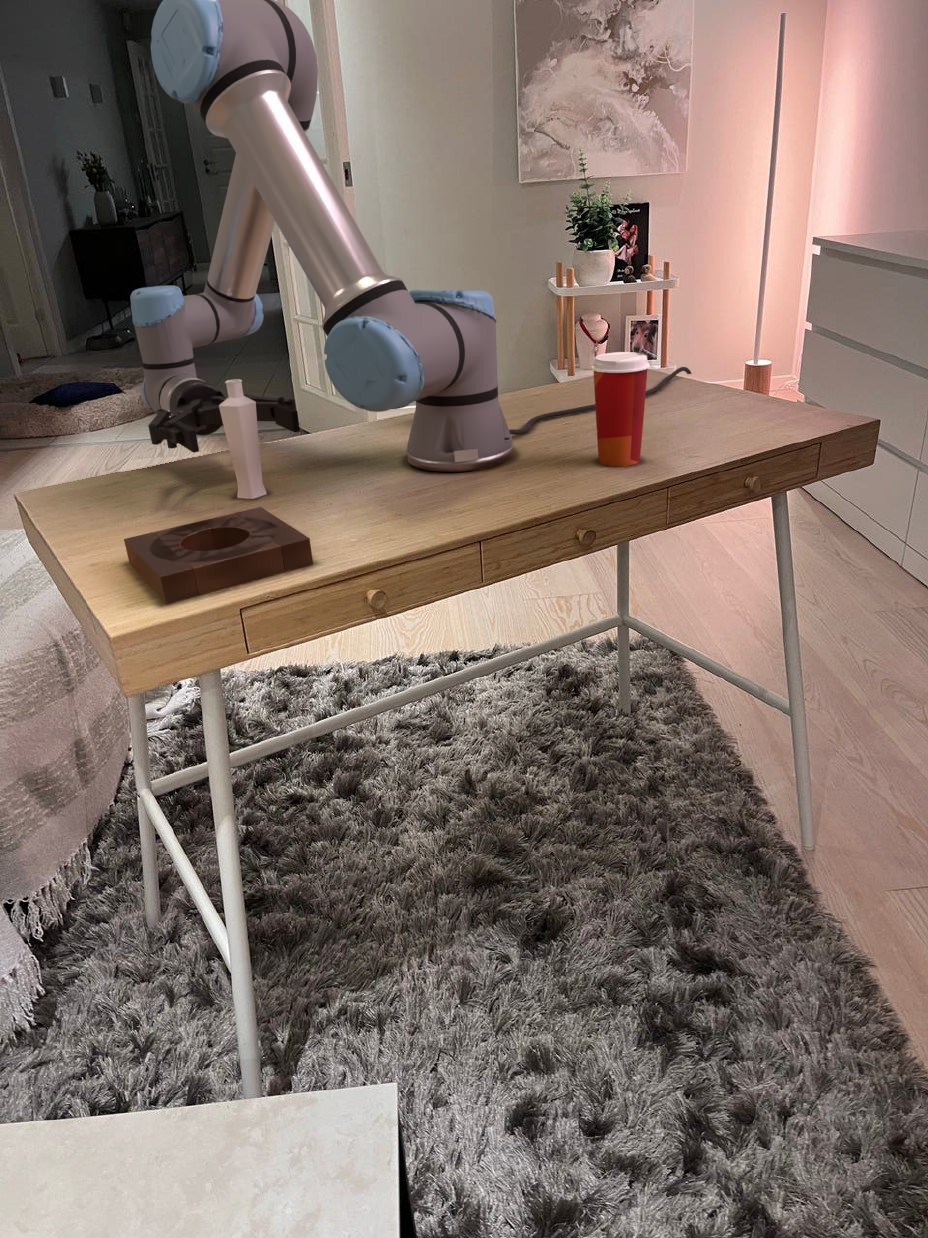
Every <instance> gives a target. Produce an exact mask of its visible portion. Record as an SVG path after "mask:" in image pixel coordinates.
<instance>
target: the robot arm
mask: <svg viewBox="0 0 928 1238" xmlns="http://www.w3.org/2000/svg"><path fill="white" fill-rule="evenodd" d="M150 36H151V41H150V55H151V62H152V66H153V70H154V73H155V77H156V78H157V81H158V83H159V85H160V86H161V88H162V89H163V90H164V92H165V93H166V94H167V95H168V96H169V97H170V98H172V99H174V100H175V101H178V102H180V103H182V104H185V105H186V104H193V105H194V107H195V108H196V111H197V112H198V114H199V115H200V117H201V119H202V121H203V122H204V124H205V126H206V127H207V129H208V131H209V132H210V133H211V134H212V135H214V136H217V137H220V138H223V139H228V141H229V143H230V145H231V147H232V148H233V150H234V152H235V156H234V161H233V165H232V169H231V174H230V177H229V183H228V187H227V190H226V191H227V192H226V196H225V199H224V204H223V208H222V213H221V217H220V221H219V226H218V231H217V235H216V239H215V243H214V248H213V253H212V257H211V261H210V265H209V269H208V274H207V278H206V282H205V285H204V290H203V292H200V293H195V294H189V295H184V294H183V293H182V290H181V288H180V287H179V286H177V285H155V286H146V287H140V288H136V289H134V290H133V291H132V292H131V294H130V298H129V299H130V300H129V301H130V309H131V310H130V311H131V316H132V324H133V326H134V330H135V334H136V339H137V343H138V347H139V351H140V356H141V360H142V371H143V376H144V378H143V381H142V384H141V396H142V398H143V401H144V402H145V404H146V405H147V406H148V407H149V409H150V410H151V411H152V412H153V413H155V417H154V418H153V419H152V420H151V421H150V423H148V424H147V426H148V431H149V435H150V441H151V445H154V446H157V445H160V444H162V443H163V442H164V441H165V440H166V444H167V448H168V449H176V448H178V444H179V446H182V447H183V448H186V449H187V450H188V451H190V452H191V453H193V454H195V453H199V452H200V447H199V442H198V437H197V436H209V435H212V434H214V433H215V432H217V431H218V430H219V429H220V428H222V427H224V425H223V421H222V417H221V413H220V409H219V405H220V404H221V403H222V402H224V401H225V400H226V399H227V398H228V397H226V396H225V394H224V393H223V392H222V390H220V388H218V387H217V386H216V385H214V384H211V383H210V382H207V381H205V380H203V379H201V378H198V377H197V371H196V366H195V358H194V357H195V356H194V351H193V349H195V348H201V347H204V346H207V345H212V344H216V343H222V342H225V341H229V340H238V339H241V338H244V337H246V336H250V335H252V334H254V333H256V332H257V331H258V330H259V329H260V328H261V327H262V324H263V322H264V316H265V315H264V312H263V308H264V306H263V302H262V300H261V298H260V296H259V295H258V294H257V289H258V286H259V282H260V279H261V276H262V272H263V269H264V264H265V262H266V261H265V260H266V258H267V253H268V250H269V245H270V242H271V239H272V235H273V232H274V228H275V224H276V226H277V227H278V229H279V230H280V232H281V234H282V235H283V237H284V239H285V241H286V242H287V244H288V246H289V248H290V250H291V251H292V253H293V255H294V257H295V258H296V260H297V262H298V264H299V265H300V267H301V269H302V270H303V272H304V274H305V277H307V279H308V281H309V283H310V285H311V286H312V288H313V290H314V292H315V293H316V295H317V297H318V299H319V300H320V302H321V304H322V306H323V307H324V316H323V319H322V323H321V329H322V330H323V332H324V333H325V335H326V339H325V342H324V346H323V353H324V355H326V358H325V360H324V367H325V370H326V373H327V375H328V377H329V381H330V382H331V384H332V385H333V387H334V388H335V390H336V391H337V392H338V393H339V395H341V397H343V399H344V400H346V401H347V402H348V403H350V404H351V405H352V406H354V407H356V408H359V409H362V410H365V411H368V412H373V413H380V412H387V411H391V410H399V409H403V408H406V407H408V406H409V405H411V404H412V403H414V402H415V410H414V414H413V419H412V423H411V428H410V432H409V436H408V441H407V444H406V455H407V456H406V457H407V462H408V463H409V464H410V465H411V466H413V467H415V468H417V469H421V470H425V471H433V472H450V473H451V472H453V473H454V472H470V471H476V470H483V469H487V468H492V467H495V466H498V465H501V464H504V463H506V462H508V461H509V460H510V459H511V458H512V457H513V456H514V442H513V437H512V435H523V434H525V433H527V432H528V431H529V430H530V429H531V427H532V425H533V424H535V423H537V422H539V421H542V420H546V419H551V418H555V417H560V416H561V417H562V416H567V415H571V414H577V413H581V412H587V411H591V410H596V408H595V403H593V404H589V405H582V406H578V407H574V408H569V409H563V410H558V411H552V412H548V413H544V414H539V415H536V416H534V417H532V418H530V419H529V420H528V421H527V422H526V424H525V426H524V427H521V428H519V429H513V428H511V429H509V426H508V423H507V421H506V418H505V415H504V411H503V410H502V407H501V404H500V400H499V385H498V383H499V381H498V354H497V353H498V351H497V332H496V331H497V329H496V328H497V326H496V324H497V317H496V315H495V304H494V299H493V296H492V295H491V294H490V293H489V292H488V291H485V290H473V289H471V290H465V289H463V290H461V289H411V290H408V288H407V286H406V285H405V283H404V281H403V279H401V277H396V276H394V275H389V274H386V273H385V272H384V270H383V269H382V266H381V264H380V263H379V261H378V259H377V258H376V256H375V254H374V252H373V251H372V249H371V247H370V245H369V243H368V242H367V241H366V240H367V239H366V238H365V236H364V234H363V233H362V231H361V229H360V228H359V226H358V224H357V223H356V221H355V219H354V217H353V215H352V213H351V212H350V210H349V208H348V205H346V203H345V201H344V199H343V198H342V195H341V194H340V192H339V190H338V188H337V186H336V185H335V183H334V181H333V179H332V178H331V176H330V174H329V172H328V170H327V169H326V167H325V165H324V164H323V162H322V159H321V158H320V157H319V155H318V153H317V152H316V149H315V148H314V146H313V143H311V140H310V138H309V137H308V136H307V134H306V133H307V132H308V131H309V129H310V126H311V123H312V118H313V115H314V111H315V107H316V102H317V94H318V84H319V83H318V81H319V80H318V79H319V78H318V77H319V71H318V70H319V69H318V59H317V55H316V50H315V46H314V42H313V40H312V37H311V35H310V33H309V31H308V29H307V27H306V25H305V24H304V22H303V21H302V20H301V19H300V17H299V16H298V15H297V14H296V13H295V12H294V11H293V10H292V9H291V8H290V7H288V6H286V5H285V4H284V3H281V2H280V1H278V0H162V1H161V3H160V4H159V6H158V8H157V9H156V12H155V15H154V17H153V21H152V26H151V32H150ZM681 372H685V373H686V374H687V375H692V374H693V373H692V371H691V370H690V368H689V367H687V366H680V367H678V368H677V369H675V370H674V371H672V372H671V373H670V374H669V375H667V376H666V377H664V378H663V379H662V380H661V382H659V384H657V385H656V386H653V387H652V388H650V389H646V394H645V397H647V396H650V395H651V394H654V393H655V392H658V391H659V390H661V389H662V388H663V387H664V386H665V385H666V384H667V383H668V382H669V381H670V380H672V379H673V378H675V376H677V375H678V374H679V373H681ZM243 395H244V396H245V397H247V398H249V399H251V400H253V401H255V402H256V414H257V422H275V425H277V426H280V427H281V428H284V429H286V430H288V431H291V432H293V433H299V432H301V427H300V420H299V414H298V410H297V405H296V399H294V398H285V397H284V396H279V397H270V396H269V397H268V396H257V395H253V394H249V393H246V394H243Z"/></svg>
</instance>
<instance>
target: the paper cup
mask: <svg viewBox="0 0 928 1238" xmlns="http://www.w3.org/2000/svg"><path fill="white" fill-rule="evenodd" d="M650 367H651V364H650V363H649V362H648V355H646V354H643V353H638V352H635V351H634V352H631V351H618V352H617V351H616V352H607V353H601V354H598V355H596V356H595V357H594V361H593V364H591V367H590V369H591V371H593V387H594V388H593V389H594V390H593V391H594V402H595V403H594V404H595V408H596V409H595V423H596V425H595V426H596V441H597V455H598V462H599V463H600V464H602V465H605V466H609V467H627V466H633V465H636V464H638V463H640V460H641V453H642V441H643V430H644V429H643V428H644V419H645V417H644V416H645V403H646V396H645V394H646V391H647V378H648V369H649V368H650Z"/></svg>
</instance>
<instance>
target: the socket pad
mask: <svg viewBox="0 0 928 1238" xmlns="http://www.w3.org/2000/svg"><path fill="white" fill-rule="evenodd" d="M123 541H124V546H125V550H126V554H127V559H128V563H129V565H130V566H131V567H132V568H133V570H134V571H135V572H136V573H137V574H138V575H139V576H140V577H141V579H143V580H144V582H145V583H147V585H148V586H149V587H150V588H151V589H152V591H154V593H155V594H156V595H157V596H158V597H159V598H160V600H162V601H163V602H164V603H165V604H166V605H169V604H172V603H176V602H180V601H183V600H187V599H191V598H194V597H198V596H202V595H205V594H208V593H213V592H216V591H219V590H224V589H227V588H231V587H233V586H239V585H242V584H245V583H249V582H252V581H253V582H254V581H257V580H260V579H264V578H267V577H271V576H274V575H278V574H282V573H287V572H290V571H294V570H298V569H300V568H304V567H308V566H311V565H312V566H313V565H314V560H313V552H312V546H311V538H310V537H309V536H307V535H306V534H303V533H302V532H301V531H299V530H298V529H296V528H295V527H293V526H291V525H290V524H288V523H287V522H285V521H284V520H282V519H280V518H279V517H278V516H276V515H275V514H273V513H271V512H270V511H268V510H267V509H265V508H264V507H262V506H258V507H254V508H249V509H245V510H240V511H237V512H234V513H229V514H224V515H220V516H216V517H211V518H207V519H204V520H199V521H195V522H190V523H187V524H182V525H178V526H174V527H169V528H163V529H160V530H156V531H152V532H148V533H143V534H139V535H135V536H131V537H127V538H124V539H123Z"/></svg>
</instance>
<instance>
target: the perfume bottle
mask: <svg viewBox="0 0 928 1238" xmlns="http://www.w3.org/2000/svg"><path fill="white" fill-rule="evenodd" d="M242 383H243V379H240V378H234V379H227V380H226V381H224V384H226V385H225V386H226V391H227V396H228V397H226V398H227V399H226V400H225V401H224V402H222V403H221V404H220V405H219V409H220V413H221V417H222V421H223V425H224V426H223V428H224V433H225V437H226V441H227V446H228V449H229V454H230V459H231V462H232V467H233V470H234V474H235V478H236V482H237V496H236V497H237V499H247V500H255V499H257V498H260V497H262V496H265V495H267V494H268V493H267V490H266V488H265V485H264V483H263V475H262V474H263V473H262V464H261V462H262V461H261V452H260V451H261V450H260V439H259V438H260V437H259V426H258V421H257V414H256V402H255V401H253V400H251V399H249V398H247V397H245V396H244V395H245V394H244V390H243V384H242Z"/></svg>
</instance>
